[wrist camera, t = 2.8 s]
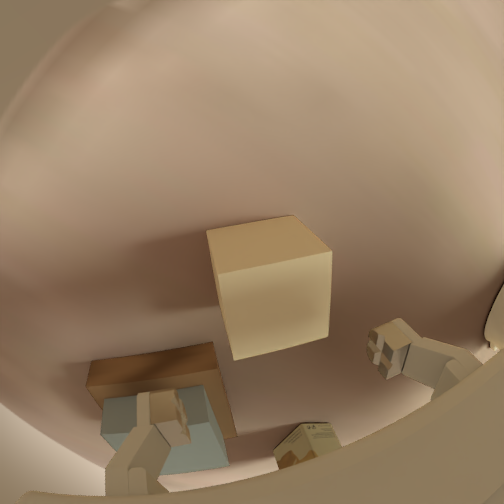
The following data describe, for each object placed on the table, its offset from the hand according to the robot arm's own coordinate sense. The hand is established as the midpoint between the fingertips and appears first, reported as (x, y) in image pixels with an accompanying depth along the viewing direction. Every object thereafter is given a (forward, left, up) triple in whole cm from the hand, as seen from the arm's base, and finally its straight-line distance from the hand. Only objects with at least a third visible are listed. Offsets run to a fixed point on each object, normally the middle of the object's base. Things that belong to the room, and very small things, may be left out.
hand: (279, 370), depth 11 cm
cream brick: (-1, -1, -8) cm, 8 cm away
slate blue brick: (+7, +10, -5) cm, 13 cm away
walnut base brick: (+7, +9, -8) cm, 14 cm away
